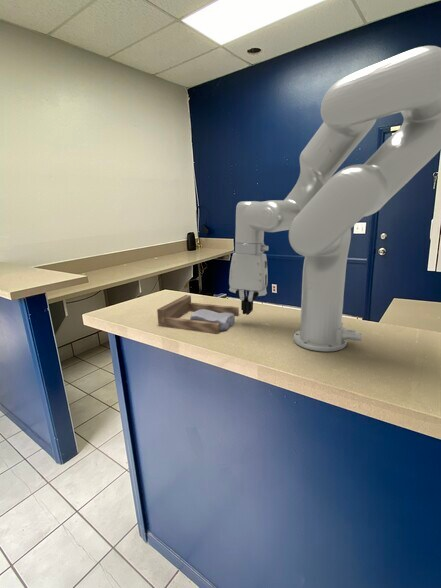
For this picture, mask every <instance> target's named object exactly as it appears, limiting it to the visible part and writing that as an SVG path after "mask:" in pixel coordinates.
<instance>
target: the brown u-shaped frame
mask: <svg viewBox="0 0 441 588" xmlns="http://www.w3.org/2000/svg"><path fill="white" fill-rule="evenodd" d="M202 309H205V310H210V311H214V312H217V313H224V312H227V313H232V314H234V317H238V316H239V315H240V313H239V312H240V310H239V309H240V307H239V306H231V305H230V306H229V305H221V304H220V305H219V304H211V303H210V304H209V303H201V302H200V303H199V302H192V295H189V294H185V295H183V296H181V297H179V298H177V299H175V300H173V301H171V302H169V303H167V304H165V305H163V306H162V307H159V308H157V309H156V310H157V311H156V313H157V324H158V325H157V326H158V327H164V328H165V327H167V328H172V329H181V330H187V331H188V330H189V331H194V332H201V333H203V332H204V333H210V334H211V333H212V334H219V333H220V332H221V331H220V323H214V322H206V321H197V320H190V318H187V319H186V318H180V317H182V316H183V315H185V314H187V313H188V312H193V313H194V312H195V311H198V310H202Z"/></svg>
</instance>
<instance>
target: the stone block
mask: <svg viewBox="0 0 441 588" xmlns="http://www.w3.org/2000/svg"><path fill="white" fill-rule="evenodd" d="M189 320H197V321H206V322H214V323H220V332H226V331H227V330H228V329H229V328H230V327H232V326H233V325H234V324H235V321H236V316H234V314H232V313H227V312H224V313H217V312H214V311H210V310H205V309H202V310H198V311H195V312H194V311H193V313H191V315H190V317H189Z"/></svg>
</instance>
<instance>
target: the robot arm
mask: <svg viewBox="0 0 441 588" xmlns="http://www.w3.org/2000/svg"><path fill="white" fill-rule="evenodd" d="M399 113H400V114H401V116H402V117H403V121H402V124H401V125H400V127H399V129H397V130H396V131H395V132H394V133H393V134H391V135H390V137H388V138H387V139H386V140H385V141H384V142H383V143H382V144H381V145H380V146H379V148H378V149H377V150H376V151H375V152H374V153H373V154H372V155H371V156H370V157H369V158H368V159H367V160H366V161H365V162H364V163H363V164H360V163H359V164H352V165H348V166H346V167H343V168H342V169H340V170H338V169H339V168H340V167H341V166H342V164H343V163H344V162H346V160H347V158H348V157H349V156H350V155H351V153H352V152H353V151H355V149H356V148H357V146H358V145H359V144H360V143H361V142H362V141H363V139H364V138H365V137H366V135H367V134H368V133H369V132H370V131H371V129H372V128H374V127H373V126H374V125H375V123H376V122H377V120H378V119H382V118H384V117H388V116H392V115H395V114H399ZM320 116H321V119H322V121H323V122H322V123H321V125H319V128H318V130H316V132H315V133H314V135H313V136H312V137H311V139H310V140H309V142H308V143H307V144H306V146H305V147H304V149H303V150H301V153H300V155H299V167H300V172H299V176H298V179H297V181H296V184H295V185H294V186H293V188H292V189H291V191H290V192H289V193H288V194H287V196H286V197H285V198H284V199H283V200H281V199H278V200H277V199H276V200H275V199H274V200H272V199H271V200H265V201H258V200H257V201H256V200H253V201H252V200H251V201H250V200H249V201H248V200H245V201H239V202H238V203H237V204H236V207H235V208H236V209H235V239H234V240H235V243H234V244H235V245H234V246H235V247H234V248H235V249H234V252H233V253H232V256H231V262H230V267H229V278H228V285H229V289H228V290H229V292H231V293H234V294H236V295H237V296H238V298H239V300H240V301H241V303H240V304H241V306H240V308H241V309H240V310H241V311H242V315H246V316H248V315H250V313H251V312H253V311H254V300H255V299H256V298H257V297H263V296H266V295H267V294H268V292H267V287H268V282H269V281H268V259H267V254H266V253H265V252H268V251H269V245H266V244H265V242H264V239H265V238H264V237H265V232H266V233H277V232H282V231H288V241H289V244H290V247H291V249H293V251H294V252H295V253H297V254H299V255H300V256H303V257H304V260H303V266H302V267H303V268H302V280H301V281H302V282H301V302H300V303H301V305H300V326H299V327H300V329H299V330H297V331H295V332H294V333H293V341H294V342H295V344H296V345H298V346H299V347H301V348H304V349H306V350H311V351H315V352H326V353H327V352H335V351H339V350H342V349H344V348H346V346H347V345H348V340H351V341H358V342H362V336H363V335H362V332H357V330H356V329H351V328H350V329H349V328H346V327H344V322H342V321H343V309H344V296H345V295H344V294H345V283H346V273H347V271H346V270H347V262H348V255H349V250H350V245H351V240H352V228H353V227H354V226H355V225H356V224H357V223H358V222H360V221H361V220H362V219H363V218H364V217H369V216H371V215H373V214H375V213H377V212H379V211H380V210H381V209H382V208H383V207H384V205H385V204H387V202H388V201H390V200H391V198H392V197H394V196H395V194H397V193H398V192H399V191H400V190H401V189H402V188H403V187H405V185H406V184H408V183H409V181H411V180H412V179H413V178H414V176H415V175H416V174H418V172H420V171H421V170H422V169H423V168H424V167H425V166H426V165H427V164H428V163H429V162H430V161H431V160H432V159H433V158H434V157H435V156H436V155H437V154H438V153H439V152H440V151H441V47H439V46H437V45H424V46H418V47H414V48H412V49H409V50H406V51H404V52H401V53H398V54H396V55H393V56H391V57H389V58H386V59H384V60H381V61H379V62H376V63H373V64H371V65H368V66H366V67H364V68H361V69H359V70H357V71H354V72H353V73H350V74H347V75H346V76H344V77H342V78H340V79H338V80H337V81H336V82H334V83H333V84H332V85H331V86H330V87H329V89H328V90H327V91H326V93H325V94H324V96H323V98H322V101H321V104H320ZM337 170H338V171H337ZM335 172H336V173H335ZM247 292H248V294H247Z"/></svg>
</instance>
